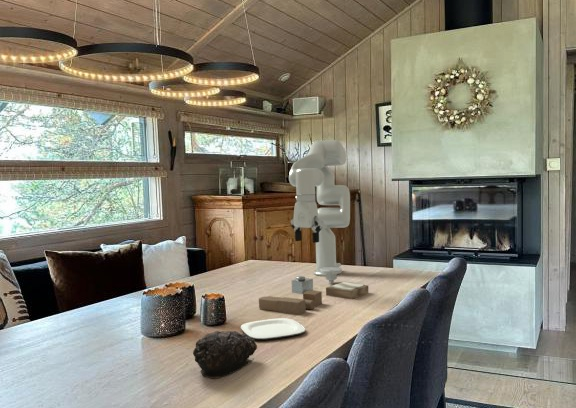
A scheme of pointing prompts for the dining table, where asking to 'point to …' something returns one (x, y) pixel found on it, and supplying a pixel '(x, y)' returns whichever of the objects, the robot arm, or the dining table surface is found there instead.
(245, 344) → the pine cone
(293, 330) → the plate
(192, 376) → the dining table surface
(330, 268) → the showerhead
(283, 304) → the wooden block set
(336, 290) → the stand
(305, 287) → the housing
